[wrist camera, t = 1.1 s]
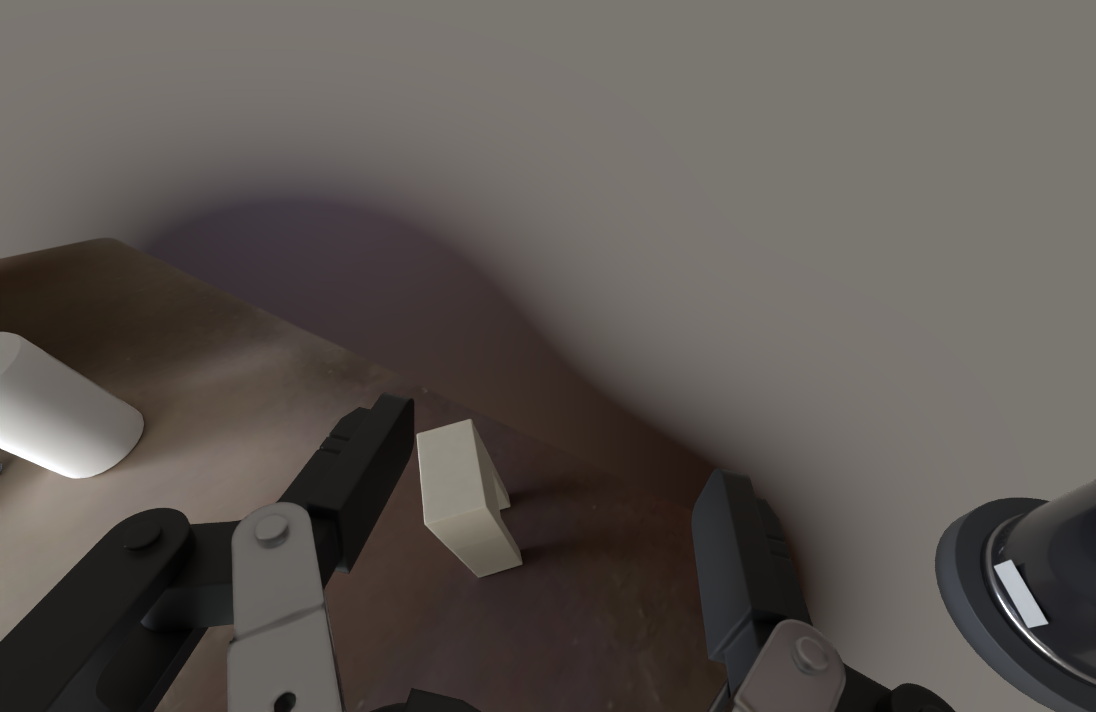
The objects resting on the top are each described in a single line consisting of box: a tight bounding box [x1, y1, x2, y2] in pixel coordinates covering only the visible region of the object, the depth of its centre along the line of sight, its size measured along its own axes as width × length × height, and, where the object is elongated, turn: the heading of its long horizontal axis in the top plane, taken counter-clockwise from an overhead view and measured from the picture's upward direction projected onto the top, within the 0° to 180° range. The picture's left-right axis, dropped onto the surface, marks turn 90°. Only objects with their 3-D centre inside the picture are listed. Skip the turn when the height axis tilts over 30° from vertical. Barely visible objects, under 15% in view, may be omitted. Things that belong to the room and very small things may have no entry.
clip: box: [417, 419, 523, 578], centre depth 28 cm, size 5×3×11 cm, turn 14°
